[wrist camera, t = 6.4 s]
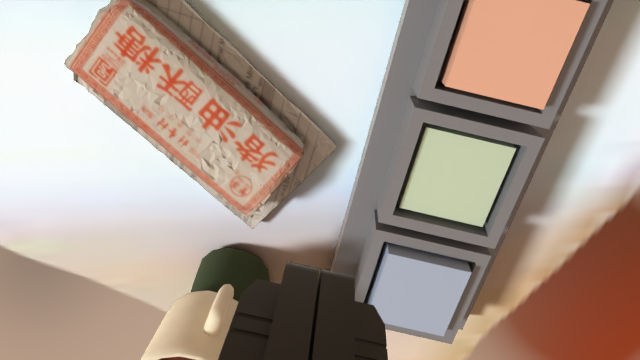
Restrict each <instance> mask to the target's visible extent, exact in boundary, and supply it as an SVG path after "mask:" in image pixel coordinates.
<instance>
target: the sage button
mask: <svg viewBox="0 0 640 360" xmlns="http://www.w3.org/2000/svg"><path fill="white" fill-rule="evenodd" d="M515 151H516V148H515V147H514V146H513V144H512V143H508V142H504V141H500V140H496V139H491V138H487V137H483V136H479V135H475V134H470V133H466V132H462V131H458V130H453V129H449V128H445V127H441V126H437V125H432V124H428V123H424V122H423V125H422V128H421V131H420V134H419V137H418V140H417V143H416V146H415V149H414V152H413V155H412V158H411V161H410V164H409V167H408V170H407V173H406V176H405V179H404V182H403V185H402V188H401V191H400V194H399V197H398V204H399V208H403V209H407V210H411V211H415V212H420V213H424V214H428V215H433V216H437V217H441V218H446V219H450V220H454V221H458V222H463V223H467V224H471V225H476V226H480V227H483V225H484V223H485V220H486V218H487V216H488V213H489V211H490V209H491V206H492V204H493V202H494V199H495V197H496V195H497V192H498V190H499V188H500V185H501V183H502V181H503V178H504V176H505V174H506V171H507V169H508V167H509V165H510V162H511V160H512V158H513V155H514V153H515Z"/></svg>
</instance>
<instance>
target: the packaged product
mask: <svg viewBox="0 0 640 360" xmlns="http://www.w3.org/2000/svg"><path fill="white" fill-rule="evenodd" d="M64 64H65V65H66V67H67V68H68V69H70V70H72V71H73V72H74V81H76V82H78V83H79V84H81V85H83V86H84V87H85V88H86V89H87V90H88V92H90V93H91V94H93V95H94V96H96V97H97V98H98V99H99V100H100V101H101V102H102V103H103V104H104V105H106V106H107V107H108V108H109V109H111V110H112V111H113V112H114V113H115V114H116V115H118V116H119V117H120V118H121V119H122V120H124V121H125V122H126V123H127V124H129V125H130V126H131V127H132V128H133V129H134V130H135V131H137V132H138V133H139V134H140V135H141V136H143V137H144V138H145V139H146V140H148V141H149V142H150V143H151V144H152V145H153V146H154V147H155V148H156V149H158V150H159V151H160V152H162V153H163V154H165V155H166V156H167V157H168V158H169V159H170V160H171V161H172V162H173V163H174V164H176V165H177V166H178V167H179V168H181V169H182V170H183V171H184V172H186V173H187V174H188V175H189V176H190V177H191V178H193V179H194V180H195V181H197V182H198V183H199V184H200V185H201V186H202V187H203V188H204V189H205V190H206V191H208V192H209V193H210V194H211V195H212V196H213V197H215V198H216V199H217V200H218V201H220V202H221V203H222V204H223V205H224V206H225V207H227V208H228V209H229V210H230V211H232V212H233V213H234V214H235V215H236V216H238V217H239V218H240V219H241V220H243V221H244V222H245V223H246V224H247V225H248V226H249V227H250V228H252V229H253V228H254V227H255V226H256V225H257V224H258V223H259V222H260V221H261V220H263V219H264V218H265V217H266V216H267V215H268V214H269V212H271V211H272V210H273V209H274V208H275V207H276V206H277V205H278V204H279V203H280V202H281V201H282V200H283V199H284V198H285V197H286V196H287V195H289V194H290V193H291V192H292V191H293V190H294V189H295V188H296V187H297V186H298V185H299V184H300V183H301V182H302V181H303V180H304V179H305V178H306V177H307V176H308V175H309V174H310V173H311V172H312V171H313V170H314V169H315V168H316V167H317V166H318V165H319V164H320V163H321V162H322V161H323V160H325V159H326V158H327V156H328V155H329V154H331V153H332V152H333V151H334V150H335V149H336V148H337V147H336V144H335V143H334V142H333V141H332V140H331V139H330V138H329V137H328V136H327V135H326V134H325V133H324V132H323V131H322V130H321V129H320V128H319V127H318V126H317V125H316V124H315V123H314V122H313V121H311V120H310V119H309V118H308V117H307V116H306V115H305V114H304V113H303V112H302V111H301V110H300V109H299V108H298V107H296V106H295V105H294V104H293V103H291V102H290V101H289V100H287V99H286V98H285V97H284V96H283V95H282V94H281V93H280V92H279V91H278V90H277V89H276V88H275V87H274V86H273V85H272V84H271V83H270V82H269V81H268V80H267V79H266V78H265V77H264V76H263V75H262V74H261V73H260V72H259V71H258V70H257V69H256V68H255V67H254V66H252V65H251V64H250V62H249V61H248V60H247V59H246V58H245V57H244V56H243V55H242V54H241V53H240V52H239V51H238V50H237V49H236V48H235V47H234V46H233V45H232V44H230V43H229V41H228V40H227V39H225V38H224V37H223V36H222V35H220V34H219V33H218V32H217V31H215V30H214V29H213V28H211V27H210V26H209V25H208V24H207V23H206V22H205V21H204V20H203V19H202V18H201V16H200V15H199V14H198V13H197V12H196V11H195V10H194V9H193V8H192V7H191V6H190V5H189V4H188V3H187V2H186V1H184V0H111V2H110V3H109V4H108V5H107V6H106V7H104V8H102V9H100V10H99V11H98V13H97V15H96V17H95V19H94V21H93V22H92V25H91V28H90V30H89V33H88V34H87V35H86V36H85V37H84V38H83V39H82V40H81V42H80V43H79V44H77V45H76V50H75V51H74V52H73V54H71V55H70V56H69V57H68V58H67V59H66V60H65V63H64Z"/></svg>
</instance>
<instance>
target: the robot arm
mask: <svg viewBox="0 0 640 360" xmlns="http://www.w3.org/2000/svg"><path fill="white" fill-rule="evenodd" d="M318 276H319V278H318ZM386 345H387V344H386V332H385V324H384V322H383V320H382V319H381V317H380V315H379V313H378V312H377V310H376V308H375V306H374V305H371V304H366V303H362V302H357V301H355V277H354V276H350V275H346V274H341V273H337V272H332V271H328V270H324V269H321V272H320V275H319V268H314V267H310V266H305V265H301V264H296V263H292V262H288V261H287V263H286V267H285V271H284V275H283V279H282V283H281V284H277V283H272V282H268V281H263V280H259V279H257V280H256V281H255V282H253V283H252V284H251V285H250V286H249V287H248V288H247V289H246V290H244V291H243V292H242V294H241V297H240V299H239V302H238V305H237V308H236V310H235V314H234V316H233V319H232V322H231V324H230V327H229V331H228V333H227V336H226V338H225V341H224V344H223V347H222V349H221V352H220V355H219V358H218V360H388V356H387V349H386Z"/></svg>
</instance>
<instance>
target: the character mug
mask: <svg viewBox="0 0 640 360" xmlns="http://www.w3.org/2000/svg"><path fill="white" fill-rule="evenodd" d="M257 279H259V280H263V281H268V282H270V280H269V274H268V269H267V268H266V267H265V265H264V264H263V262H262V261H261V260H260V258H259V257H257V256H255V255H253V254H250V253H248V252H246V251H244V250H238V249H232V248H223V249H218V250H213V251H212V252H210V253H209V254H208V255H206V256H205V257H204V258H203V259H202V261H201V264H200V267H199V269H198V272H197V275H196V278H195V280H194V283H193V286H192V290H191V292H190V293H188V294H186V295H184V296H183V297H181V298H179V299H177V300H176V301H175V302H174V303H173V305H172V306H171V308H170V309H169V311H168V313H167V314H166V316H165V317H164V319H163V321H162V323H161V325H160V326H159V328H158V330H157V332H156V333H155V335H154V337H153V339H152V340H151V342H150V344H149V346H148V348H147V349H146V351H145V353H144V355H143V356H142V358H141V360H218V358H219V355H220V352H221V349H222V347H223V344H224V341H225V338H226V336H227V333H228V331H229V327H230V324H231V322H232V319H233V316H234V314H235V310H236V308H237V305H238V302H239V299H240V297H241V294H242V292H243V291H244V290H246V289H247V288H248V287H249V286H250V285H251V284H252V283H253V282H255V281H256V280H257Z"/></svg>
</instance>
